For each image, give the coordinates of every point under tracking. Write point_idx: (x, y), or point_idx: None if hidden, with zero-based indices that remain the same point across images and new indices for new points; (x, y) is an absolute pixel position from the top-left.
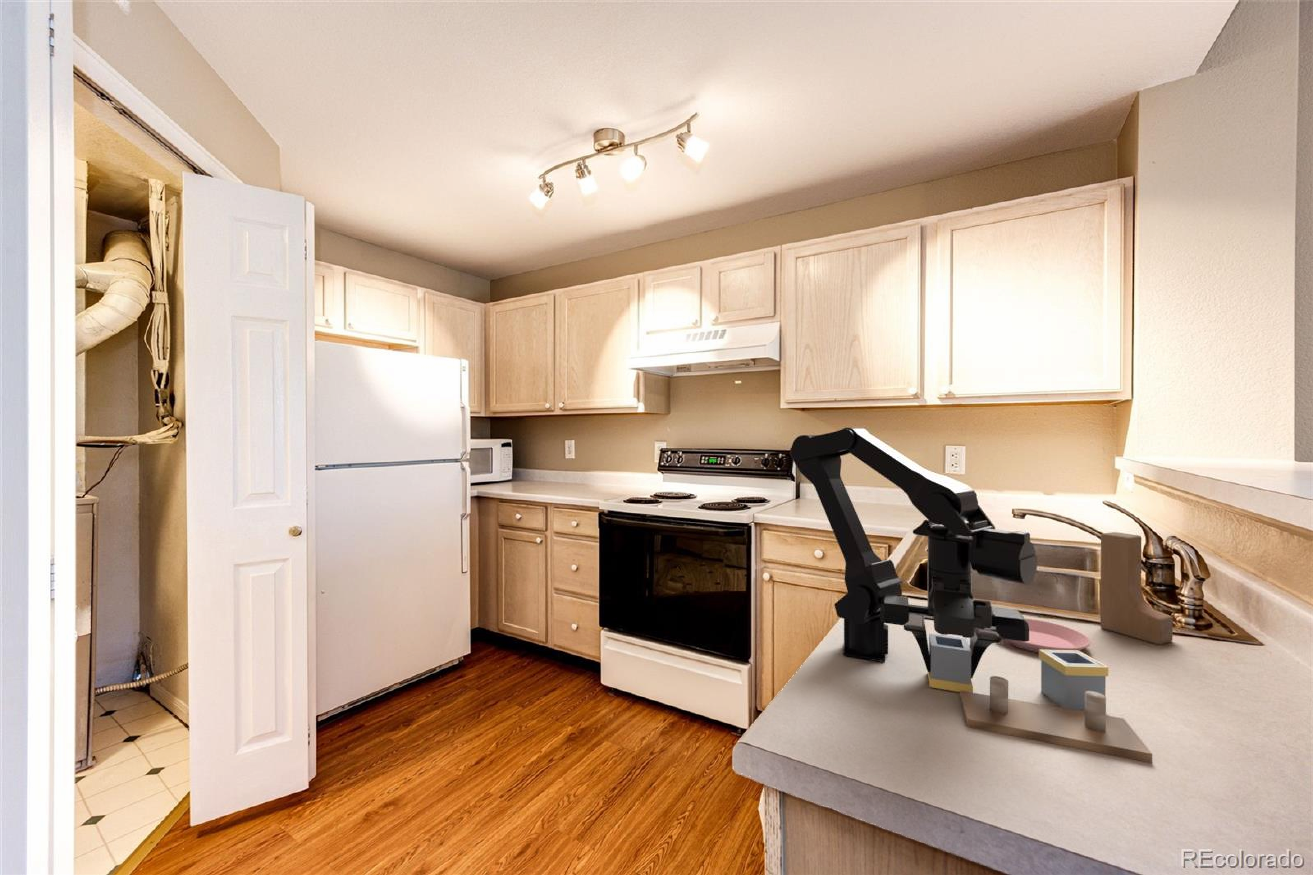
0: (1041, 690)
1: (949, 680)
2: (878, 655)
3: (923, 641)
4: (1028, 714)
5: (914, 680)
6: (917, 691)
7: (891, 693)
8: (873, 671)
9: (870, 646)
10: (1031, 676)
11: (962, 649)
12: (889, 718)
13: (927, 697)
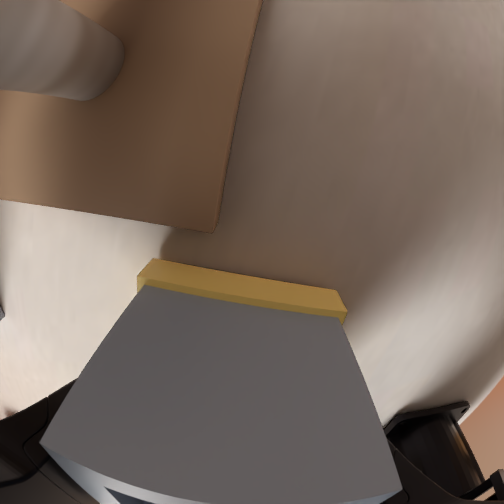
0: (2, 317)
1: (249, 307)
2: (401, 431)
3: (409, 500)
4: (18, 92)
5: (365, 340)
6: (396, 246)
7: (481, 208)
8: (455, 355)
9: (431, 441)
10: (33, 383)
11: (108, 480)
12: (495, 46)
13: (376, 194)
